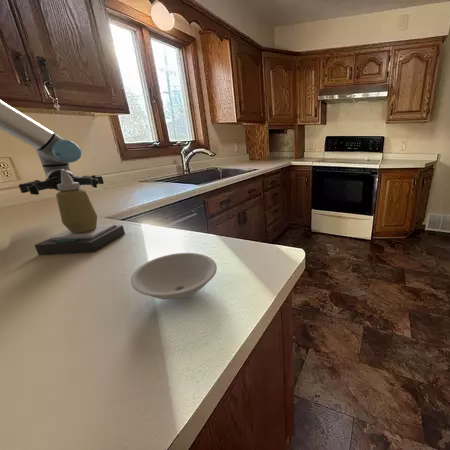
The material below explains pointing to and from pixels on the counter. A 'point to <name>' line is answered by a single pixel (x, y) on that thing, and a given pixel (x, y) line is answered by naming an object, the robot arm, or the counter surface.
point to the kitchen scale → (80, 240)
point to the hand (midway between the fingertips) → (66, 186)
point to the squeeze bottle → (75, 206)
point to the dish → (174, 275)
